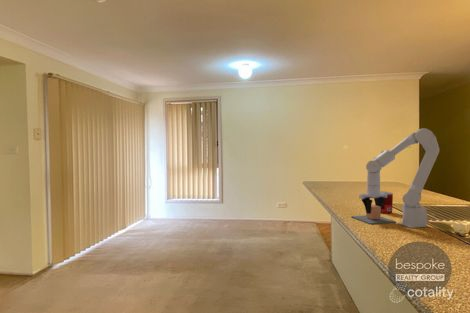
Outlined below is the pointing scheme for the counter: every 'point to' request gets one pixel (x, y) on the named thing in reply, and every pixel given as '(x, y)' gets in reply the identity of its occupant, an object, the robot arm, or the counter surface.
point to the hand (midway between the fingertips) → (373, 212)
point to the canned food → (387, 203)
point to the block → (374, 212)
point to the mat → (373, 220)
